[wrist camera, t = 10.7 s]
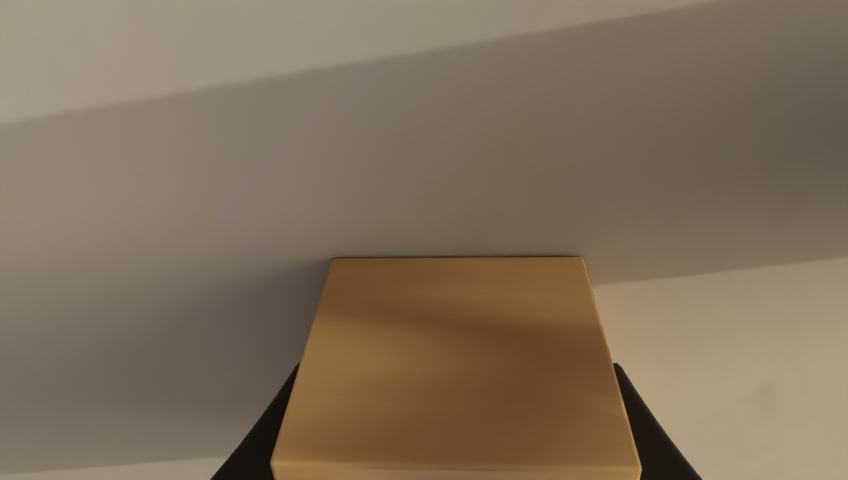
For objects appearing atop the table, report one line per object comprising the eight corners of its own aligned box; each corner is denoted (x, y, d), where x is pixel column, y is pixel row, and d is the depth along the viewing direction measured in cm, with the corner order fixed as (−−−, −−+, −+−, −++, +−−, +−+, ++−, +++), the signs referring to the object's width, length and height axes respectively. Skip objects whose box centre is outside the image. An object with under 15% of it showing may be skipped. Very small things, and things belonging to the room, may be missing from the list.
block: (356, 427, 16) (316, 648, 11) (331, 256, 13) (267, 463, 9) (564, 429, 15) (602, 658, 11) (583, 255, 13) (644, 469, 8)
